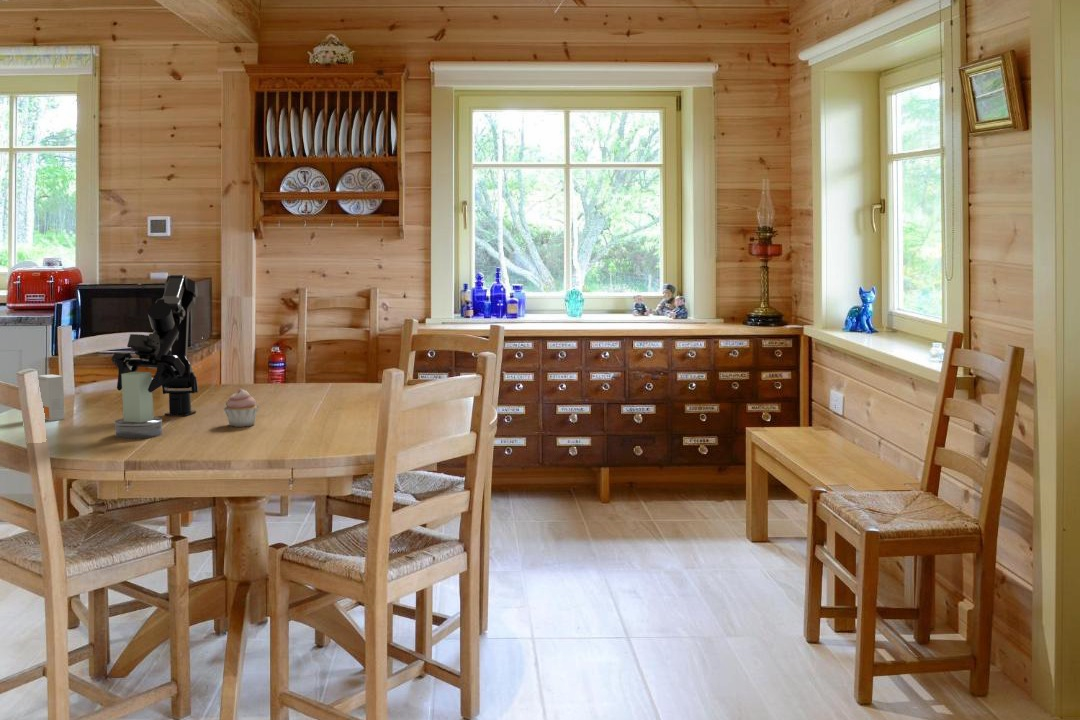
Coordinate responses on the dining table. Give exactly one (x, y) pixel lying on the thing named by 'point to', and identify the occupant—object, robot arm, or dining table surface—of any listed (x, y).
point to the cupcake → (241, 409)
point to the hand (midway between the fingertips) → (133, 390)
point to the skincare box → (52, 396)
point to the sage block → (137, 397)
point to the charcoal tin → (138, 429)
